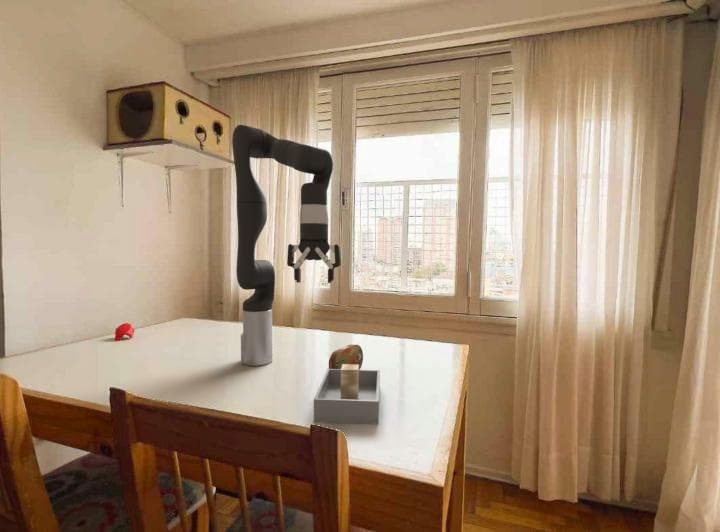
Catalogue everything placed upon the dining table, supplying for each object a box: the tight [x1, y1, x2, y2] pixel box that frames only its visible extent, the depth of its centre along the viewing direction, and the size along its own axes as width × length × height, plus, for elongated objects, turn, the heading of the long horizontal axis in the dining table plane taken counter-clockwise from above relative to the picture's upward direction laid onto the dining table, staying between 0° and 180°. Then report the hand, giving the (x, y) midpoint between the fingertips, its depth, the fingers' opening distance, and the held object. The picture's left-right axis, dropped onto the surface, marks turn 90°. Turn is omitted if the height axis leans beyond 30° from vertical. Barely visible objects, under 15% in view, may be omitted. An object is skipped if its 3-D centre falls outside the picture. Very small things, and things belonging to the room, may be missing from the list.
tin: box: [328, 344, 364, 370], centre depth 111 cm, size 15×3×8 cm, turn 148°
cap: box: [114, 322, 135, 342], centre depth 152 cm, size 8×6×6 cm
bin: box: [313, 368, 381, 425], centre depth 91 cm, size 14×20×5 cm
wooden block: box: [341, 364, 359, 400], centre depth 91 cm, size 4×4×8 cm
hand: (314, 282), depth 102 cm, fingers open, 8 cm apart
